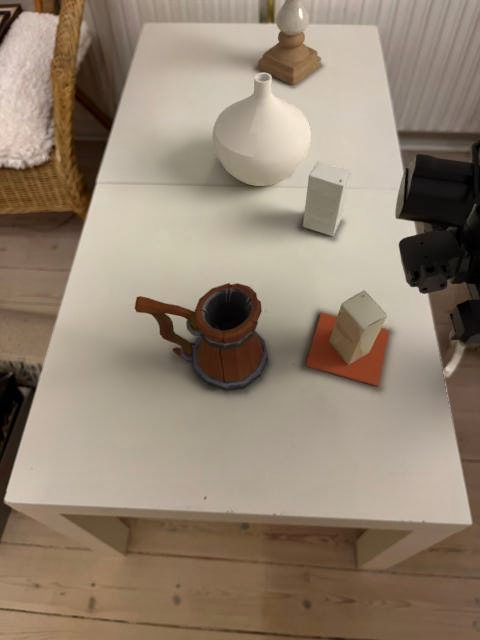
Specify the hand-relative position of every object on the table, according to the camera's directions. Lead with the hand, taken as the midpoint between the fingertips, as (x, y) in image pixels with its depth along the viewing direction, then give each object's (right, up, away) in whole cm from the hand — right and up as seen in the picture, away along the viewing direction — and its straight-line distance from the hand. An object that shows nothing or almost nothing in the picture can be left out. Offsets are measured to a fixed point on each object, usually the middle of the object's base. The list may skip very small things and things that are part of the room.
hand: (443, 308), depth 64 cm
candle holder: (-15, +59, +53) cm, 80 cm away
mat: (-10, -6, +12) cm, 16 cm away
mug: (-31, -7, +12) cm, 34 cm away
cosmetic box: (-12, +16, +26) cm, 32 cm away
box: (-10, -6, +12) cm, 16 cm away
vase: (-23, +29, +34) cm, 50 cm away
